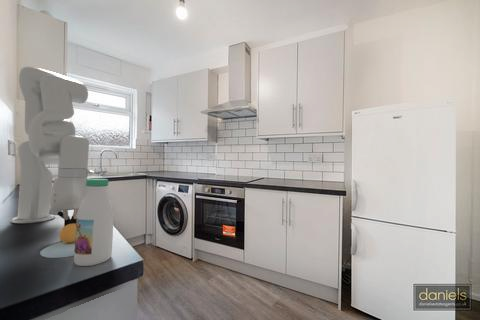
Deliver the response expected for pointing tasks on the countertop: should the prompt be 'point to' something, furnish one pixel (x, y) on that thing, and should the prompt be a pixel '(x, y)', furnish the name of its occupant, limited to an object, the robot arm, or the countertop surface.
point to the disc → (59, 250)
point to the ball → (68, 233)
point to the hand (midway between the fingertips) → (69, 231)
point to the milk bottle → (94, 225)
